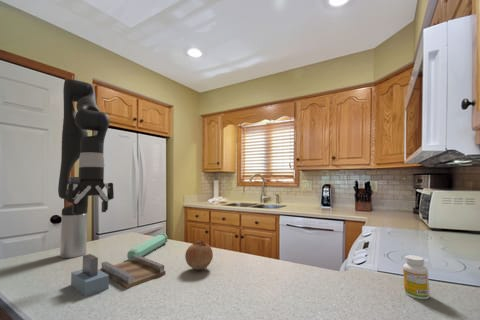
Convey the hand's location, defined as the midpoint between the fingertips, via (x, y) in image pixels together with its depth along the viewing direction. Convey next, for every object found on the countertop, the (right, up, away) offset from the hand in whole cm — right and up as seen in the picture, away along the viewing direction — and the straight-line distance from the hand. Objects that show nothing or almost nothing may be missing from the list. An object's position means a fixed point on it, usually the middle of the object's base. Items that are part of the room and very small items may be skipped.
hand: (90, 213), depth 83 cm
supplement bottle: (+99, -18, -19) cm, 102 cm away
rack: (+15, -20, -1) cm, 25 cm away
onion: (+37, -20, +1) cm, 42 cm away
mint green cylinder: (+11, -22, +23) cm, 34 cm away
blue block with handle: (+6, -20, -11) cm, 23 cm away
